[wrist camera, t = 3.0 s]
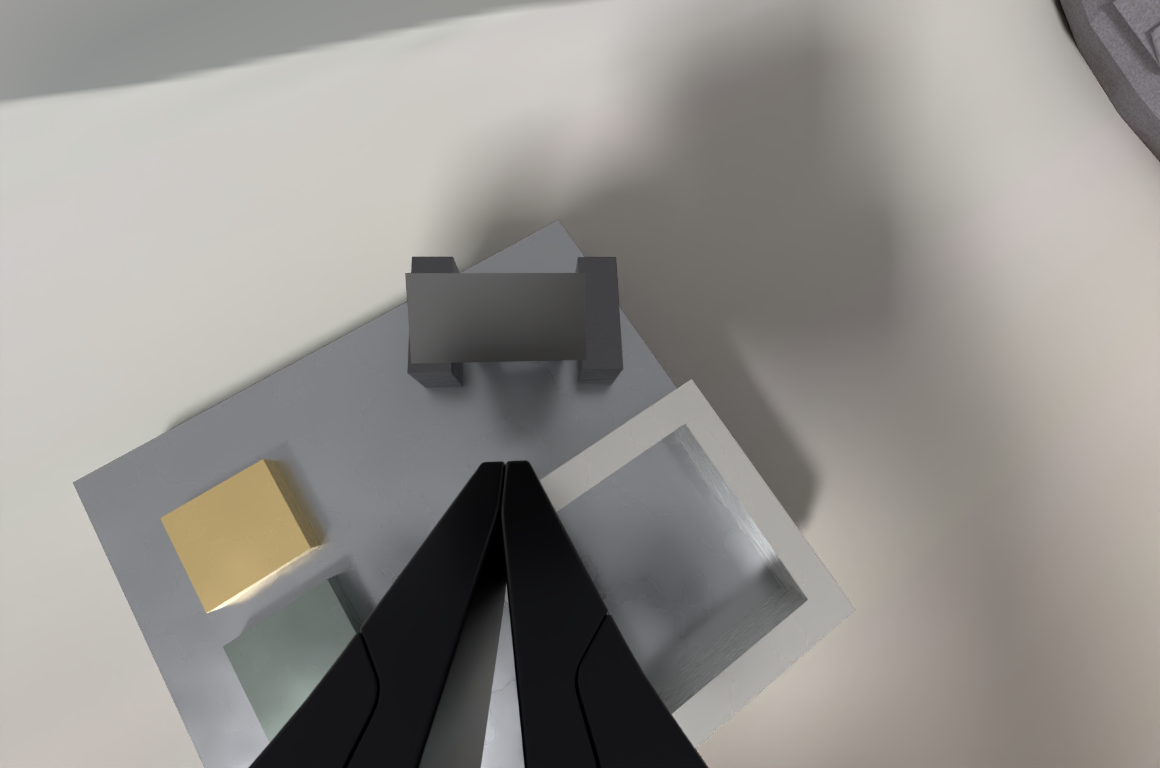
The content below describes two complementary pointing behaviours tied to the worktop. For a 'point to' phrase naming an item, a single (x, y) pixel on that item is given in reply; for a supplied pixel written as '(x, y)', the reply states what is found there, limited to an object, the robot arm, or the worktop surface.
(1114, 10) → the small grey backpack
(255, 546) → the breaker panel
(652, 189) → the worktop surface
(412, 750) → the robot arm
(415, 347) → the block
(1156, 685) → the worktop surface
